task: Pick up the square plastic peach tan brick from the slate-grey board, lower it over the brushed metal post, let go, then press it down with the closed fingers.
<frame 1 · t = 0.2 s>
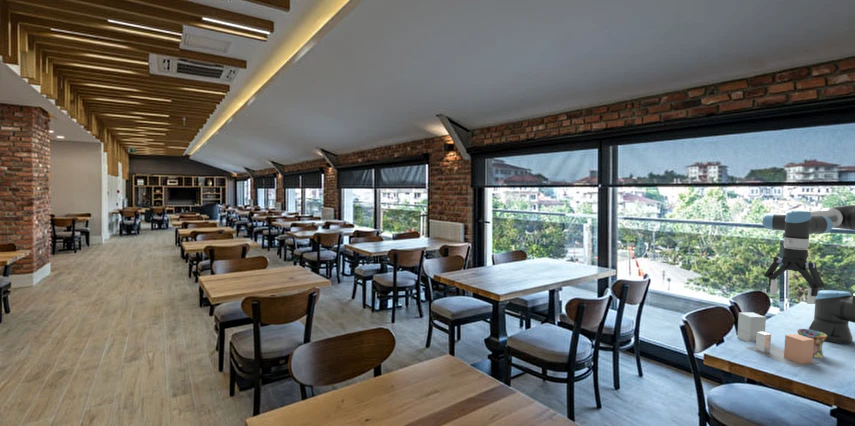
hand: (791, 299, 163), 26 cm above the table, tool pointing down, fingers open, 13 cm apart
board: (781, 358, 167), on the table
supplement box: (750, 341, 186), on the table
post: (762, 354, 171), resting on board
mug: (807, 357, 169), on the table
peach tan brick: (797, 359, 162), point 1 cm above the table, touching board
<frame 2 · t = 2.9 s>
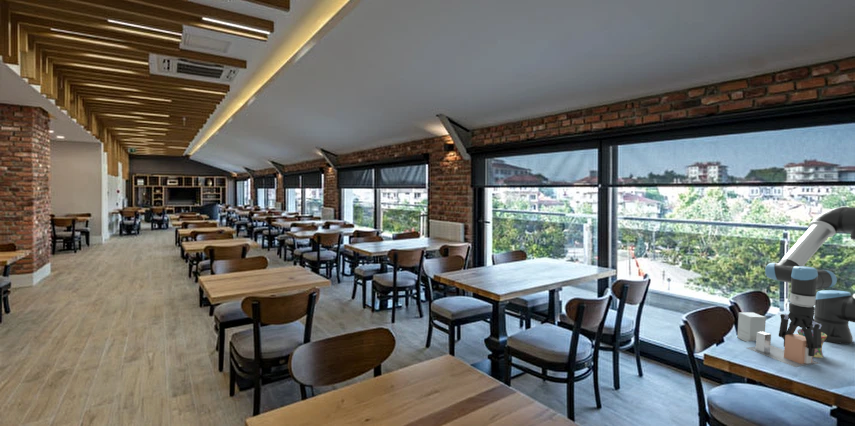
hand: (797, 359, 162), 2 cm above the table, tool pointing down, fingers closed on board, peach tan brick, 6 cm apart
peach tan brick: (797, 359, 162), point 2 cm above the table, touching board, gripper
everything else where it was.
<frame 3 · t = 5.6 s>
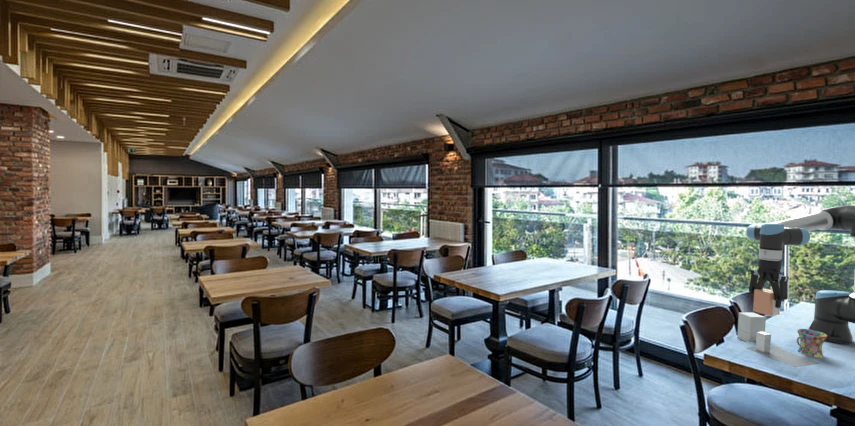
hand: (766, 312, 169), 19 cm above the table, tool pointing down, fingers closed on peach tan brick, 6 cm apart
peach tan brick: (766, 312, 169), point 19 cm above the table, touching gripper
everything else where it was.
when the fingers open (3 cm above the table, at t = 8.8 s): peach tan brick drops 1 cm, resting on board.
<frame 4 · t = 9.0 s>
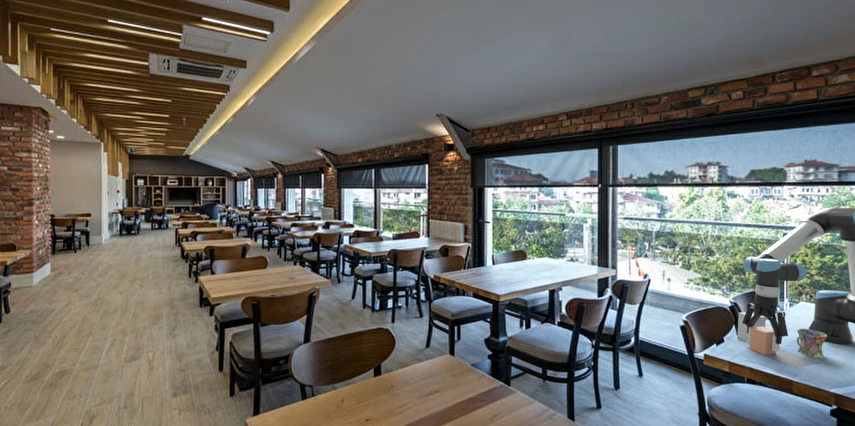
hand: (763, 345, 170), 4 cm above the table, tool pointing down, fingers open, 9 cm apart
peach tan brick: (762, 351, 171), point 1 cm above the table, touching board
everything else where it was.
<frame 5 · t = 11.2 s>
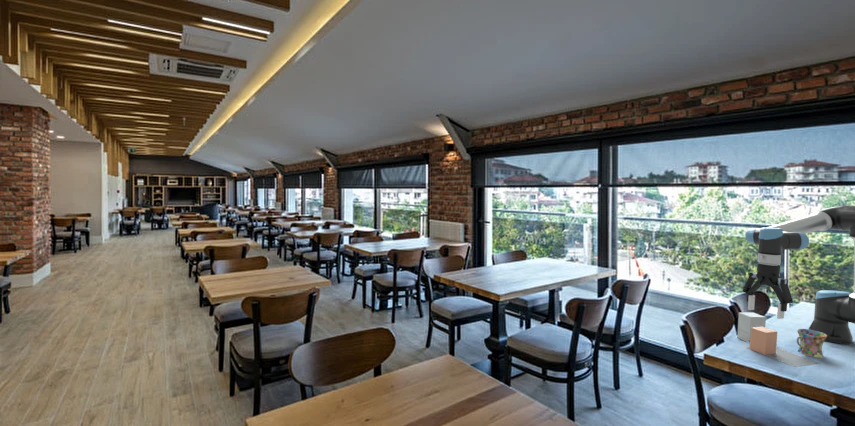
hand: (765, 313, 169), 18 cm above the table, tool pointing down, fingers open, 11 cm apart
nothing on the table moved.
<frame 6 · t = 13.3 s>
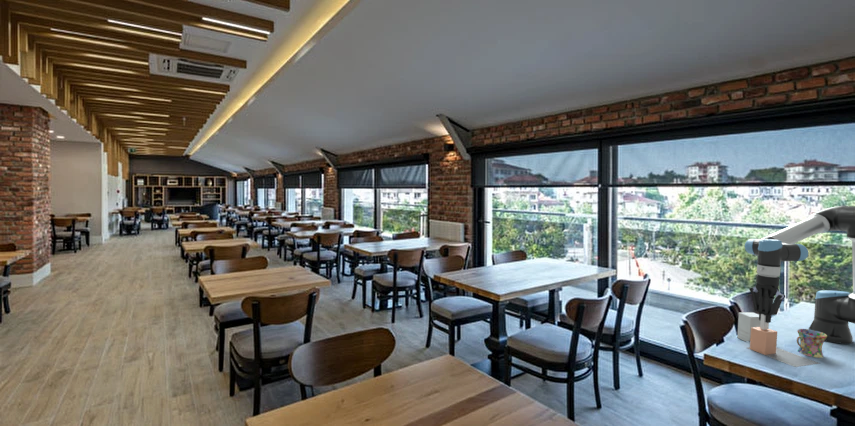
hand: (764, 328, 170), 11 cm above the table, tool pointing down, fingers closed
peach tan brick: (762, 351, 171), point 1 cm above the table, touching board, gripper
everything else where it was.
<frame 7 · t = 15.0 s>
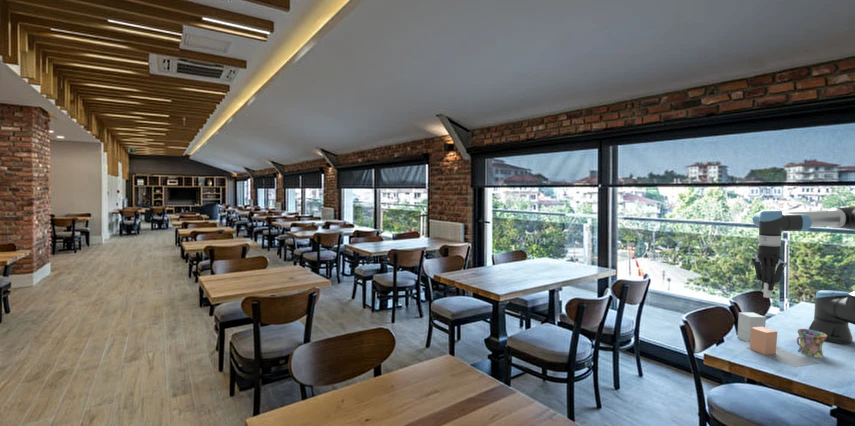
hand: (767, 297, 176), 24 cm above the table, tool pointing down, fingers closed
peach tan brick: (762, 351, 171), point 1 cm above the table, touching board
everything else where it was.
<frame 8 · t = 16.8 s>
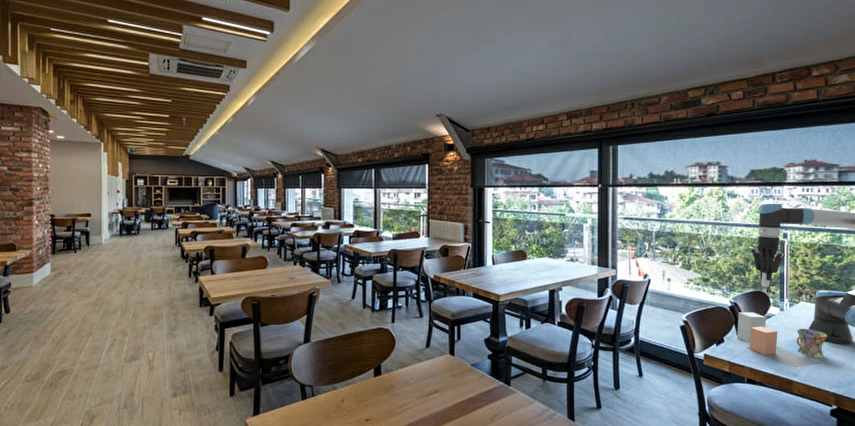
hand: (765, 286, 183), 26 cm above the table, tool pointing down, fingers closed
nothing on the table moved.
at the end: peach tan brick 0.0 cm from the post (horizontally); peach tan brick point 1.5 cm above the table; peach tan brick tilted 0° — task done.
